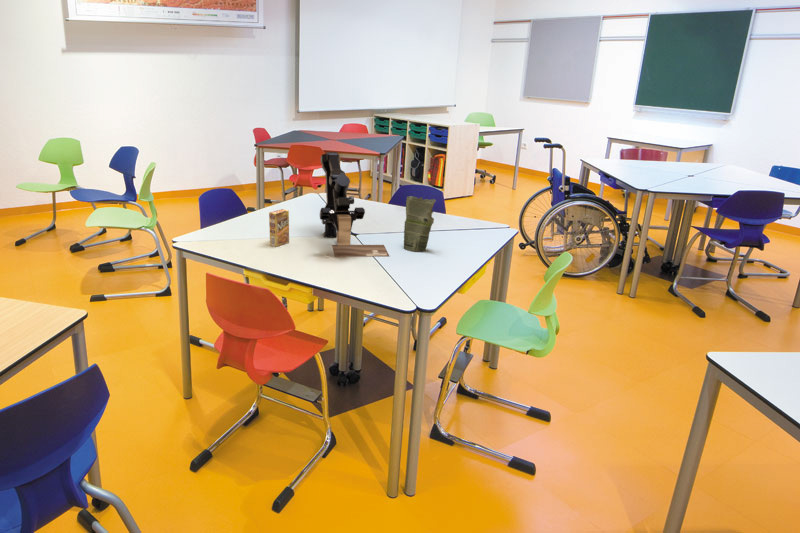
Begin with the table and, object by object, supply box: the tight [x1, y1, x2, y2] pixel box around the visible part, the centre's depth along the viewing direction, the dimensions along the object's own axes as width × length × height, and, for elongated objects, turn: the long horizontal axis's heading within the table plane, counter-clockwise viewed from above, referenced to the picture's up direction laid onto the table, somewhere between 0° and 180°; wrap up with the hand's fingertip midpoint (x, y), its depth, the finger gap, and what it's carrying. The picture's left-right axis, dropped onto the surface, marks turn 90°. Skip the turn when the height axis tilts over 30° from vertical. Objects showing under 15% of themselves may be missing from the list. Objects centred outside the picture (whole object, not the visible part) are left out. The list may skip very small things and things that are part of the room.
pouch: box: [403, 195, 437, 253], centre depth 255 cm, size 11×12×25 cm
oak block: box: [336, 215, 352, 245], centre depth 237 cm, size 5×5×12 cm
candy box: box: [268, 208, 290, 248], centre depth 252 cm, size 9×4×15 cm, turn 150°
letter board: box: [331, 244, 391, 258], centre depth 251 cm, size 17×24×1 cm
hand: (344, 230), depth 236 cm, fingers closed on oak block, 5 cm apart
